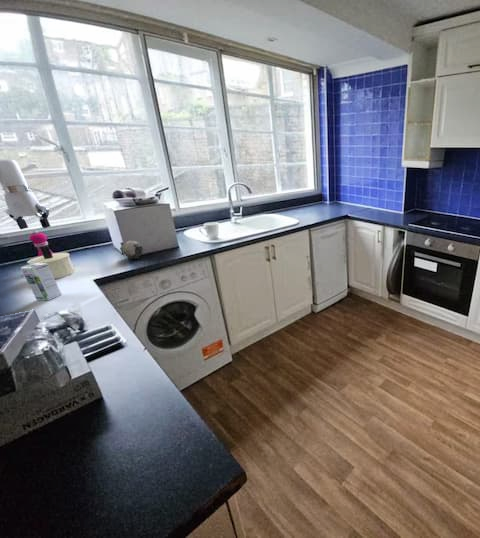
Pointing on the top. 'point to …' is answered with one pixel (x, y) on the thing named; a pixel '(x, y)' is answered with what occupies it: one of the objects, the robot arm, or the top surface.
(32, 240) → the pepper mill
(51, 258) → the lid
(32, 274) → the syrup box
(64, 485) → the top surface
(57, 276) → the pot
